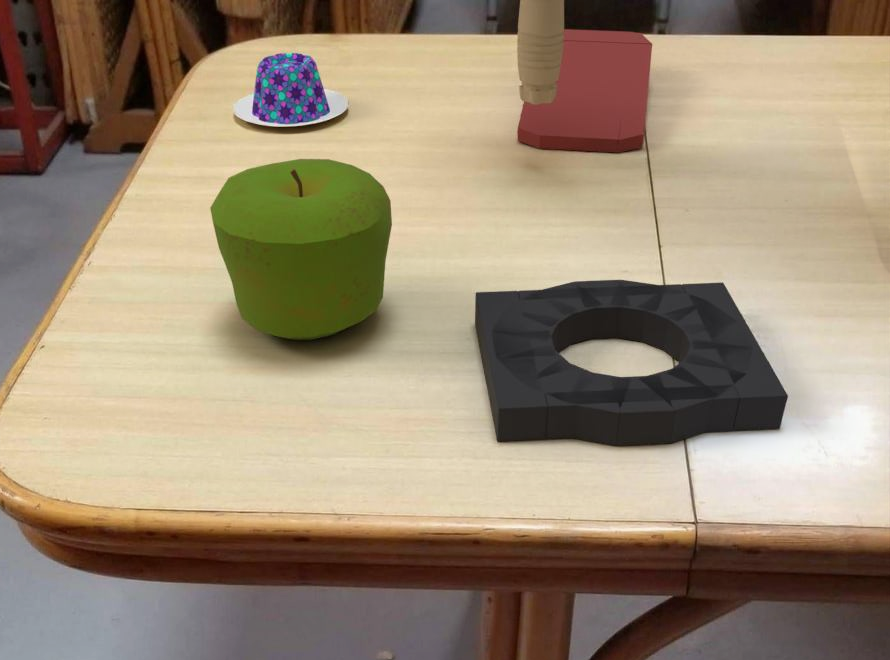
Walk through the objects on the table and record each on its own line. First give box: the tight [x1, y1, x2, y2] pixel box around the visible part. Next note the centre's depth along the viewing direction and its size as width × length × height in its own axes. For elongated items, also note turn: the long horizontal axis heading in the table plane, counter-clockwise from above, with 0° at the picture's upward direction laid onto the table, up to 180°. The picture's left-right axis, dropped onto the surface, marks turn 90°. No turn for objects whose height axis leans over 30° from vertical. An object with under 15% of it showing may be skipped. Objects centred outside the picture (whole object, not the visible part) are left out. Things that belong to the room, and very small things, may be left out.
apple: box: [209, 158, 393, 341], centre depth 75 cm, size 12×12×11 cm
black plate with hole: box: [474, 279, 789, 447], centre depth 72 cm, size 18×17×2 cm
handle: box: [516, 0, 565, 105], centre depth 91 cm, size 5×6×15 cm
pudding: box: [232, 52, 349, 128], centre depth 110 cm, size 12×12×5 cm
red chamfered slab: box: [517, 28, 653, 154], centre depth 112 cm, size 12×5×25 cm
